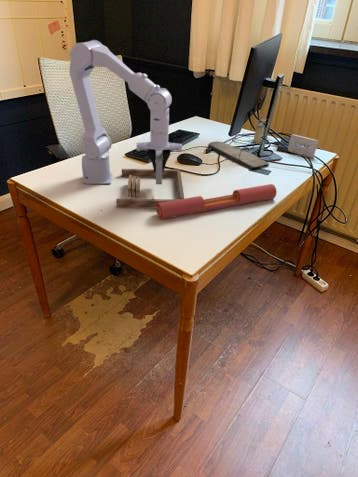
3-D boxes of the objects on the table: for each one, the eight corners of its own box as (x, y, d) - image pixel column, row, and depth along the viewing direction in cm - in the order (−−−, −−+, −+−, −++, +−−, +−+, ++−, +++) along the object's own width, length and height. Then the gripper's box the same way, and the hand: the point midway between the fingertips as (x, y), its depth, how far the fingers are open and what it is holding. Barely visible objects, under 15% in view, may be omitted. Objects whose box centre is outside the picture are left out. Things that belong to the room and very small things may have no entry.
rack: (116, 207, 113) (116, 199, 112) (122, 174, 133) (121, 167, 131) (184, 208, 115) (184, 199, 113) (179, 175, 135) (179, 168, 133)
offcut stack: (127, 197, 119) (127, 187, 117) (129, 184, 128) (129, 174, 126) (139, 197, 120) (139, 188, 118) (140, 184, 128) (139, 175, 126)
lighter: (257, 143, 168) (261, 122, 162) (251, 141, 170) (254, 120, 164) (266, 140, 172) (270, 119, 166) (259, 138, 174) (263, 117, 169)
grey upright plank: (155, 184, 117) (156, 161, 113) (155, 171, 125) (155, 149, 121) (161, 184, 117) (162, 161, 113) (161, 171, 126) (161, 149, 121)
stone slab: (222, 139, 165) (271, 159, 145) (222, 145, 167) (270, 166, 147) (205, 143, 160) (253, 164, 140) (205, 150, 162) (252, 172, 142)
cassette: (314, 157, 157) (318, 140, 153) (312, 158, 156) (317, 141, 151) (288, 150, 163) (292, 133, 158) (286, 151, 162) (290, 134, 157)
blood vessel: (266, 194, 126) (269, 181, 124) (275, 200, 123) (278, 187, 120) (156, 214, 112) (156, 200, 109) (161, 222, 108) (162, 208, 105)
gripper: (135, 134, 108) (136, 175, 116) (183, 135, 109) (180, 176, 117) (136, 127, 114) (137, 166, 122) (181, 128, 115) (179, 167, 123)
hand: (158, 170), depth 120 cm, fingers closed on grey upright plank, 2 cm apart
